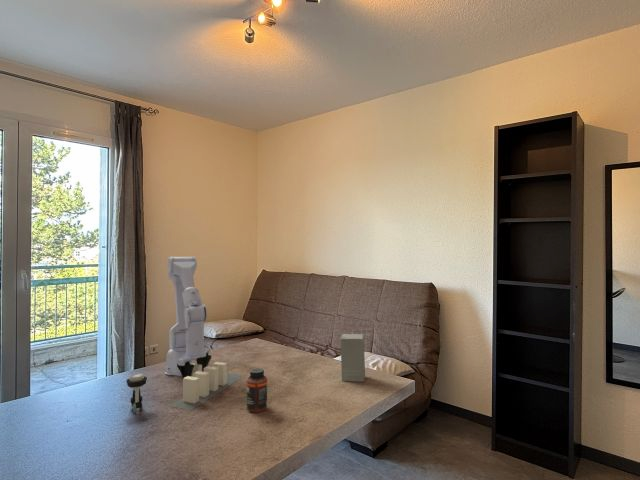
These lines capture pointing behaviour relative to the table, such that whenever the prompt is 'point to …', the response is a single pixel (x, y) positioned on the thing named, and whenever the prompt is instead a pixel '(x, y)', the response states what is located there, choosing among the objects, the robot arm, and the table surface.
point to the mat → (189, 406)
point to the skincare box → (352, 357)
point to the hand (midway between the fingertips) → (194, 380)
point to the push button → (136, 390)
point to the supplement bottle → (256, 391)
